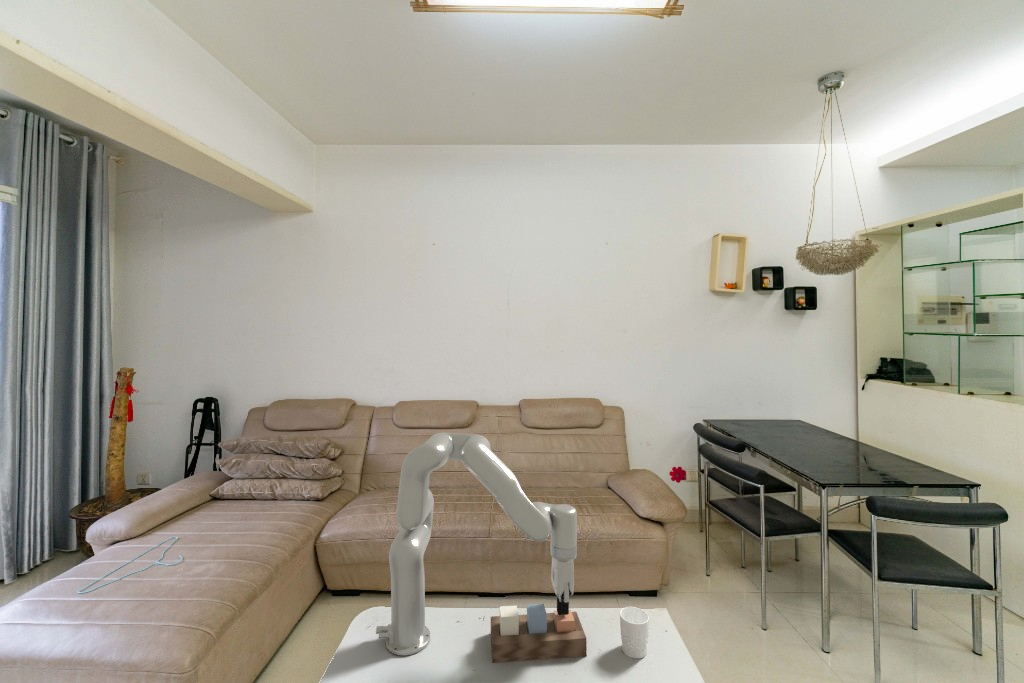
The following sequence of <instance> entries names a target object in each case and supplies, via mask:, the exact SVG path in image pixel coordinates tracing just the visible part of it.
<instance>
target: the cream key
mask: <svg viewBox="0 0 1024 683" xmlns="http://www.w3.org/2000/svg"><path fill="white" fill-rule="evenodd" d="M518 615H519V612H518V605H502V606H499V616H500V635H501V636H507V635H519V616H518Z"/></svg>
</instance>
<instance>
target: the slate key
mask: <svg viewBox="0 0 1024 683" xmlns="http://www.w3.org/2000/svg"><path fill="white" fill-rule="evenodd" d="M546 613H547V609H546V607H545V604H544V603H535V604H534V603H533V604H527V605H526V614H527V628H528V633H529V634H538V633H547V614H546Z"/></svg>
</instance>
